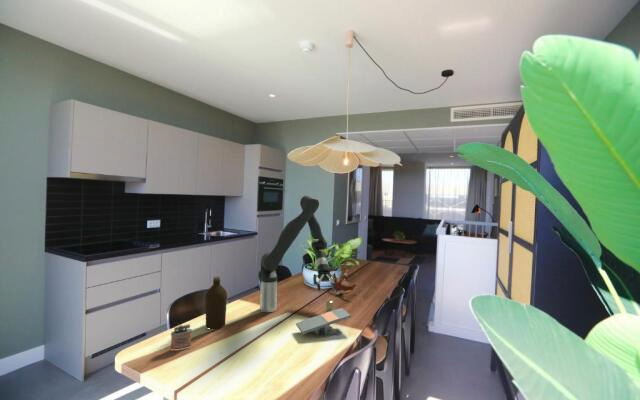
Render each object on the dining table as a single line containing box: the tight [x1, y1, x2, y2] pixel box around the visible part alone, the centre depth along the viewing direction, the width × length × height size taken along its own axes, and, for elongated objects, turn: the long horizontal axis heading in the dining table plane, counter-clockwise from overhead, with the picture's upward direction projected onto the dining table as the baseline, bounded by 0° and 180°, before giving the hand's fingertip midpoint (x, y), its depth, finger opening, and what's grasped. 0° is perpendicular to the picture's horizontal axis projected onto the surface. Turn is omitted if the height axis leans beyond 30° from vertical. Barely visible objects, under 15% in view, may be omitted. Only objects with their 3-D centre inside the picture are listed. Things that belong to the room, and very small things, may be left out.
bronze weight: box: [325, 299, 335, 313], centre depth 160 cm, size 4×4×9 cm
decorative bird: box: [330, 267, 357, 296], centre depth 202 cm, size 28×18×15 cm, turn 35°
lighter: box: [170, 324, 193, 350], centre depth 124 cm, size 8×3×10 cm, turn 117°
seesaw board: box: [295, 307, 352, 335], centre depth 143 cm, size 26×10×1 cm, turn 113°
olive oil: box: [204, 275, 228, 330], centre depth 146 cm, size 11×11×25 cm
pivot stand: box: [312, 325, 338, 339], centre depth 143 cm, size 10×12×5 cm
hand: (326, 290), depth 169 cm, fingers open, 8 cm apart
